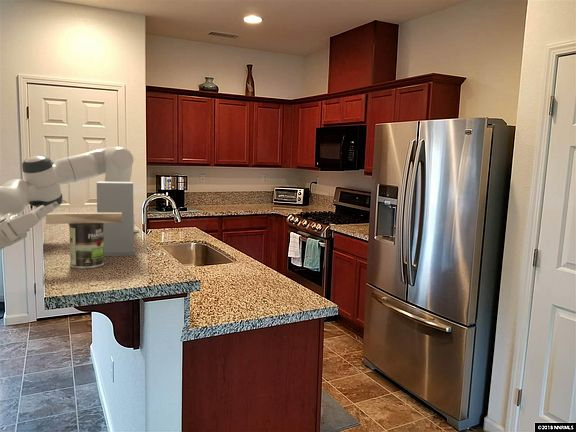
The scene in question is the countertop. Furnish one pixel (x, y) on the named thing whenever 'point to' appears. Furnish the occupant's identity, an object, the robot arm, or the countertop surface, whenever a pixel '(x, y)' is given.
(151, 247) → the countertop surface
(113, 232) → the upright
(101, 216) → the rail
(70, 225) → the coffee can
